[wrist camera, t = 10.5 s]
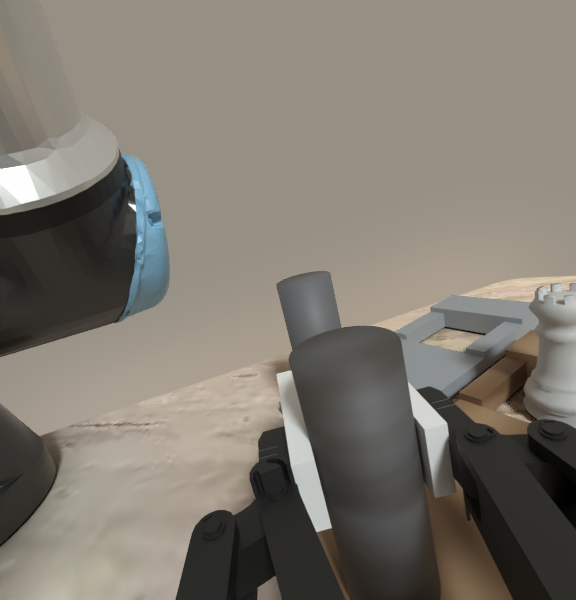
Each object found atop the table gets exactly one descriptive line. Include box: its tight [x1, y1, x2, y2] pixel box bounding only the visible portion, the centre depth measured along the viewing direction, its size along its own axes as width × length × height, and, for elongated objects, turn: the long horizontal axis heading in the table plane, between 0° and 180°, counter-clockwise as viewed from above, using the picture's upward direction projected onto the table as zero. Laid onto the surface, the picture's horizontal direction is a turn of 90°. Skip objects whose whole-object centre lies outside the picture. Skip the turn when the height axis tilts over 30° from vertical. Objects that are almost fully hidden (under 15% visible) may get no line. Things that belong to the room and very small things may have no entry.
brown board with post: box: [289, 326, 539, 600], centre depth 17 cm, size 9×24×11 cm, turn 124°
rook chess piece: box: [523, 283, 576, 428], centre depth 21 cm, size 4×4×8 cm
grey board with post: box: [277, 271, 539, 412], centre depth 29 cm, size 9×24×11 cm, turn 124°
